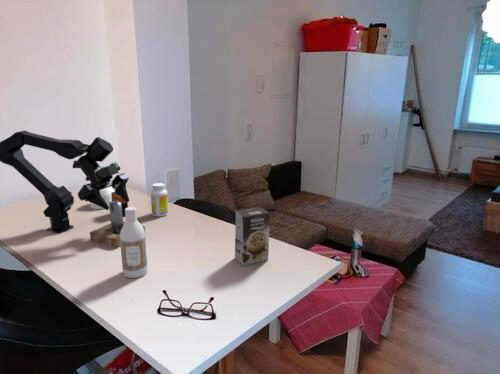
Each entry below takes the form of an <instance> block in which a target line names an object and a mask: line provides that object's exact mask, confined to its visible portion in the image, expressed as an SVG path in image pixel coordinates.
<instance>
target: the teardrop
mask: <svg viewBox="0 0 500 374" xmlns="http://www.w3.org/2000/svg"><path fill="white" fill-rule="evenodd" d="M112 192H115V189H114V188H113V187H112V186H111V187H108V188H105V189H102V190H100V195H101V196H102V198H103V199H104V200H105V202H106V203H107V205H108V207H109V202H111V201H112V196H111V193H112ZM89 203H90V205H89V206H90V208H91V209H94V210H105V209H104V208H102V207H100V206H98V205H96V204H93V203H91V202H89ZM109 209H110V207H109Z"/></svg>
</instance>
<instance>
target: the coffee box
mask: <svg viewBox="0 0 500 374" xmlns="http://www.w3.org/2000/svg"><path fill="white" fill-rule="evenodd" d="M270 218H271V212H269V211H268V210H266V209H264V208H263V207H261V206H260V207H251V208H245V209H241V210H235V234H234V235H235V236H234V237H235V239H234V240H235V241H234V258H235V259H236V260H237V262H239V263H240V264H241V265H242V267H243V266H244V267H245V266H249V265H252V264H256V263H261V262H266V261H269V248H270V245H269V244H270V222H271V219H270Z"/></svg>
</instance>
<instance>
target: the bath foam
mask: <svg viewBox="0 0 500 374" xmlns="http://www.w3.org/2000/svg"><path fill="white" fill-rule="evenodd" d="M125 215H126V216H125V221H124V222H125V224H124V225H123V227H122V229H121V232H120V245H121V247H120V254H121V266H122V273H123V276H124V277H126V278H130V279H137V278H141V277H143V276H145V275H146V274H147V273H148V255H147V252H148V251H147V242H146V241H147V240H146V239H147V238H146V237H147V236H146V230H145V231H144V229H143V227H142V226H143V225H142V224H141V223H140V222H139V220H138V219H137V218H138V217H137V207H135V206H128V208H126V209H125Z"/></svg>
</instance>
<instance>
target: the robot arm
mask: <svg viewBox="0 0 500 374" xmlns="http://www.w3.org/2000/svg"><path fill="white" fill-rule="evenodd" d="M24 146H31V147H34V148H39V149H43V150H47V151H50V152H54V153H55V154H57V155H58V156H60V157H61V158H63V159H67V160H73V164H72V169H80V170H81V171H82V173H83V174H84V175H85V178H84V180H85V181H86V182H88V181H89V182H90V183H86V184H83V185H82V186H81V188H80V189H79V191H78V192H77V197H78V199H79V200H80V201H81V202H82V201H84V202H89V203H90V202H91V203H93V204H96V205H98V206H100V207H102V208H104V209H103V210H106V211H110V208H109V207H108V205H107V203H106V202H105V200H104V199H103V198H102V196H101V195H100V190H102V189H105V188H108V187H112V188H113V190H114V191H115V192H116V193H117V194H118V195H119V196H121V197H122V198H123V199H124V200H125V201H126V202H128V203H129V202H130V198H129V195H128V190H127V187H126V186H127V183H128V182H129V179H130V177H129V176H128V174H127V173H120V172H119V171H120V170H121V166H120V164H119V163H118V162H117V161H114V162H112V163H110V164H109V165H107V166H104V165H103V166H100V164H99V163H98V162H100V163H101V162H104V161H105V160H106V158H108V156H109V155H111V153H112V152H113V151H114V147H113V145H112V144H111V143H110V142H108V141H107V140H105V139H103V138H101V137H100V136H96V137H95V138H94V139H93V141H92V143H90V144H86V143H83V142H82V141H81V140H79V139H58V138H54V137H50V136H45V135H41V134H38V133H33V132H30V131H27V130H20V131H16V132H14V133H13V134H11V136H9V137H7V138H5V139H3V140H1V141H0V163H2V164H4V165H7V166H10V167H13V169H15V171H17V172H18V173H19V174H20V175H21V176H22V177H23V178H24V179H25V180H27V181H28V182H29V184H31V185H32V186H33V187H34V188H35V189H37V191H38V192H40V193H41V194H42V196H43V197H44V201H45V203H46V205H47V207H46V208H45V209H44V210H43V212H42V213H43V215H44V216H45V218H49V223H50V227H48V228H47V231H50V232H53V233H57V234H61V233H62V232H65V231H68V230H70V229H74V225H71V223H70V218H69V213H68V211H70V210H71V209H72V206H73V205H74V203H75V197H74V196H73V195H72V194H73V193H72V192H71V191H69V190H68V188H67V187H66V186H64V185H61V186H57V185H54V184H53V183H52V182H51V181H50V179H48V178H47V177H46V176H45V175H44V174H43V173H41V172H40V170H38V169H37V167H35V166H34V165H33V164H32V163H31V162H30V161H29V160H28V159H26V157H25V155H24V151H23V150H22V148H23V147H24ZM78 157H79V158H78ZM76 158H78V159H77V160H74V159H76ZM116 174H117V175H116ZM114 175H115V177H114Z"/></svg>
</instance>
